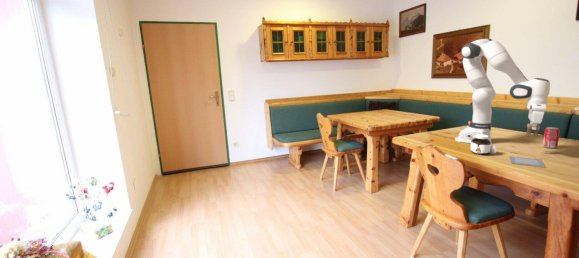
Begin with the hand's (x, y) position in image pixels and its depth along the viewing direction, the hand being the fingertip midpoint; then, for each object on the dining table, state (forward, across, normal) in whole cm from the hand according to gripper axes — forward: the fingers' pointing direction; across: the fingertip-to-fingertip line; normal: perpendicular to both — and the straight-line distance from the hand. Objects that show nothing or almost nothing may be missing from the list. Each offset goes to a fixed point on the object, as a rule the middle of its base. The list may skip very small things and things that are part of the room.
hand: (532, 128), depth 170 cm
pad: (+16, +20, -3) cm, 26 cm away
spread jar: (+16, +11, -23) cm, 31 cm away
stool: (+5, 0, 0) cm, 5 cm away
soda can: (+16, -20, +13) cm, 28 cm away
